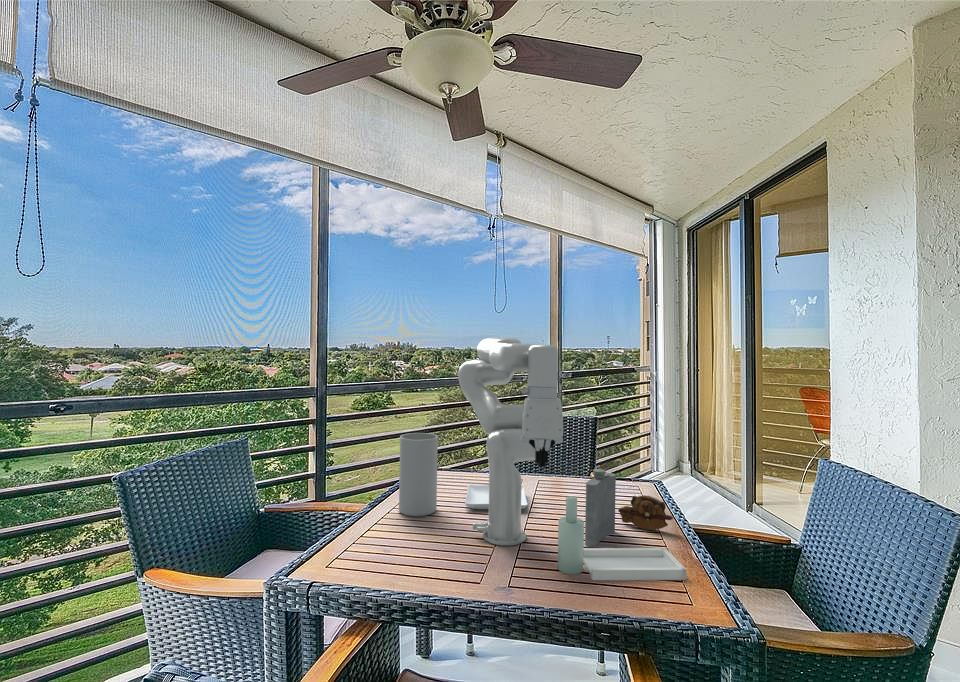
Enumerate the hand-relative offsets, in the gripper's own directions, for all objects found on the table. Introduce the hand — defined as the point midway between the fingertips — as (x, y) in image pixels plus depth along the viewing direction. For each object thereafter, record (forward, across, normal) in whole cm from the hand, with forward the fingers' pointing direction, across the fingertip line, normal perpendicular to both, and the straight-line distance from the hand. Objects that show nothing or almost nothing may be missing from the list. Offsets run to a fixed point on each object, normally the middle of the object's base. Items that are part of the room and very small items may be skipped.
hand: (541, 465), depth 129 cm
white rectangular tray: (+26, +23, 0) cm, 35 cm away
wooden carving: (+26, +37, +27) cm, 53 cm away
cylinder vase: (+26, -34, +43) cm, 61 cm away
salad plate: (+26, -7, +52) cm, 59 cm away
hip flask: (+26, +21, +20) cm, 39 cm away
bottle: (+26, +8, 0) cm, 27 cm away
